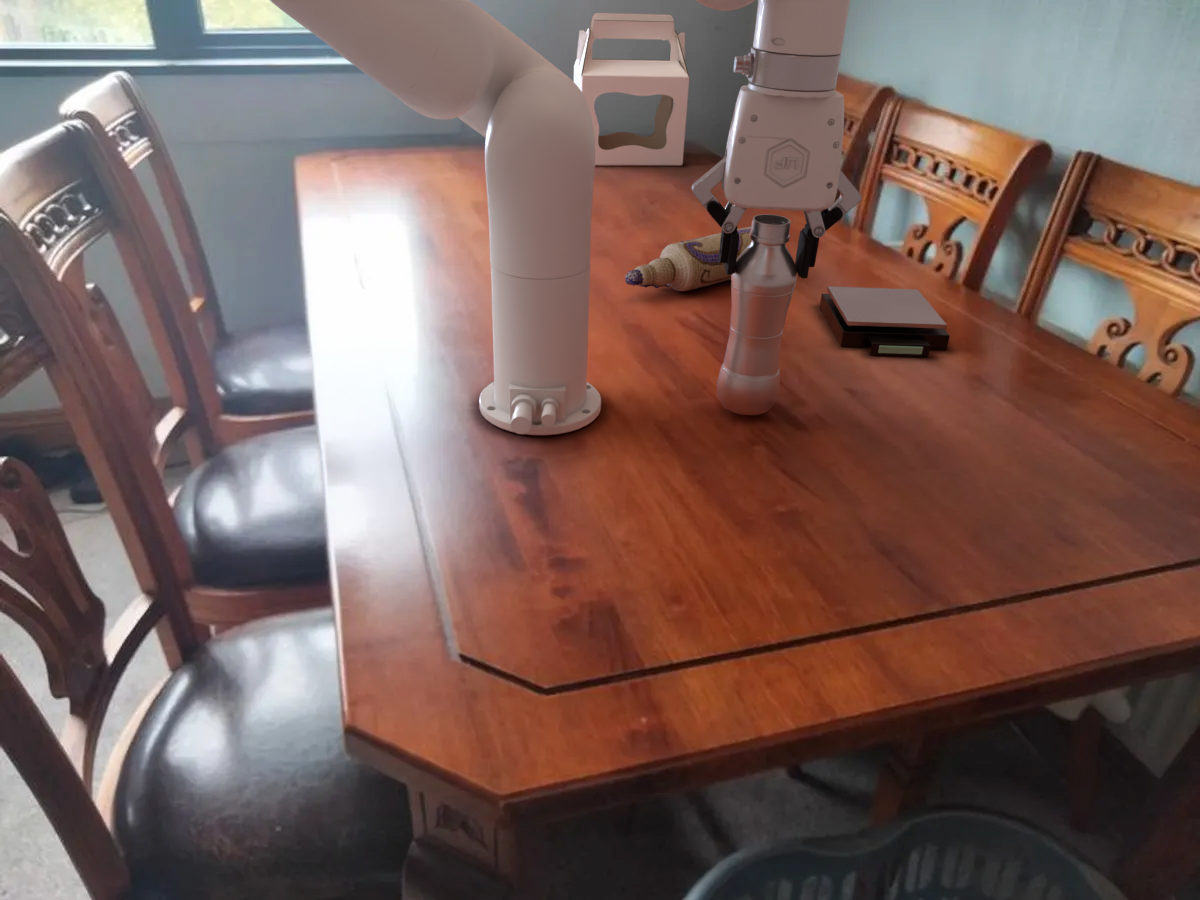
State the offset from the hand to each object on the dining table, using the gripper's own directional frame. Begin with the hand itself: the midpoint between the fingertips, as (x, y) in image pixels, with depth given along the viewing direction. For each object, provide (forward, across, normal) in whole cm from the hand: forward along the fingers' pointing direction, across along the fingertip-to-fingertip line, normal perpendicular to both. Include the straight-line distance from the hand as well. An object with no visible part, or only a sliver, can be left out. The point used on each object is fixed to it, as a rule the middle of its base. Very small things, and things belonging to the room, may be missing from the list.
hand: (765, 270), depth 88 cm
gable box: (+16, -10, +114) cm, 116 cm away
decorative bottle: (+16, -2, +39) cm, 42 cm away
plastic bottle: (+15, 0, 0) cm, 15 cm away
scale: (+15, +20, +23) cm, 34 cm away
